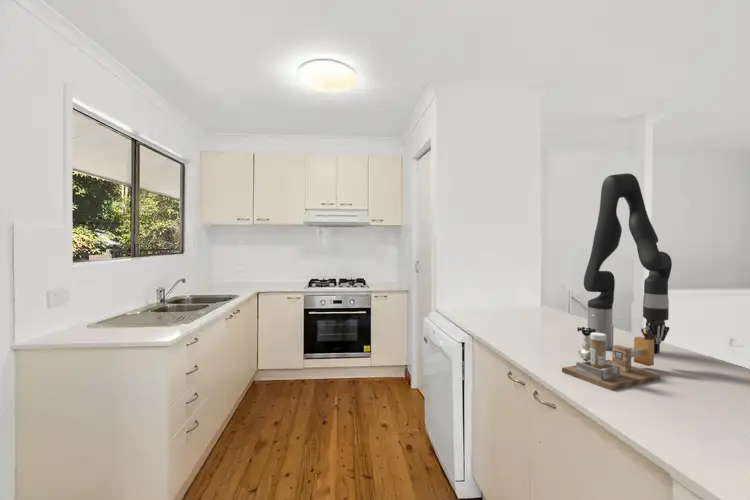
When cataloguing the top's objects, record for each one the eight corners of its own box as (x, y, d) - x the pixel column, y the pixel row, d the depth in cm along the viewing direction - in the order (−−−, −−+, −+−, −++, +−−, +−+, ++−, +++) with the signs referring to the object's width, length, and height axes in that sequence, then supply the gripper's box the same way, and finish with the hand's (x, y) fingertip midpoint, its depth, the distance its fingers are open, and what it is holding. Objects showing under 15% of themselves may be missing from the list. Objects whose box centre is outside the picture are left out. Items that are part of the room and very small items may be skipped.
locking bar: (639, 361, 139) (639, 336, 139) (653, 365, 135) (654, 339, 134) (611, 366, 133) (611, 340, 133) (625, 370, 129) (626, 344, 129)
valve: (591, 357, 151) (591, 327, 150) (599, 362, 144) (599, 330, 144) (573, 356, 151) (573, 326, 151) (581, 361, 145) (581, 330, 145)
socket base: (608, 363, 142) (608, 339, 142) (660, 379, 126) (660, 351, 126) (561, 372, 133) (562, 345, 133) (611, 390, 117) (611, 360, 116)
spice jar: (605, 376, 124) (606, 335, 124) (589, 374, 126) (590, 334, 126) (605, 372, 128) (606, 333, 128) (590, 370, 130) (590, 331, 130)
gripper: (656, 303, 144) (655, 348, 145) (633, 305, 139) (632, 352, 140) (678, 306, 138) (677, 354, 138) (655, 308, 132) (654, 358, 133)
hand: (655, 353), depth 139 cm, fingers closed
